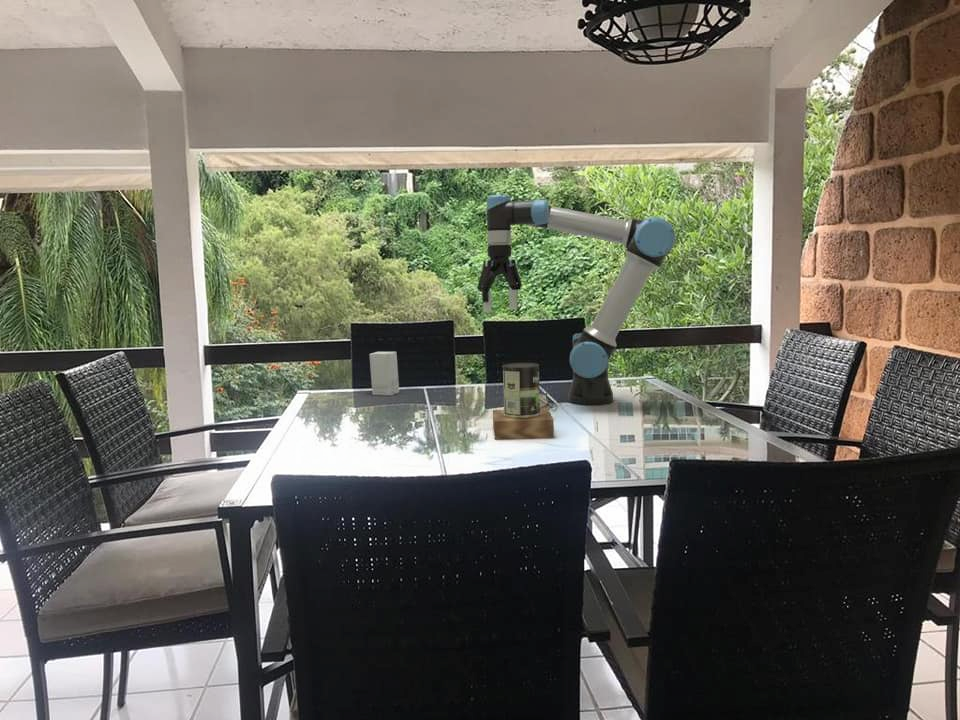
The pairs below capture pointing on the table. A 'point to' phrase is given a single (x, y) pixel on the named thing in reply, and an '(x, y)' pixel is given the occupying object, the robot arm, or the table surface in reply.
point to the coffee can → (521, 390)
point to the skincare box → (384, 373)
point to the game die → (544, 402)
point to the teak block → (523, 426)
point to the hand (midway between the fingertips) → (500, 311)
